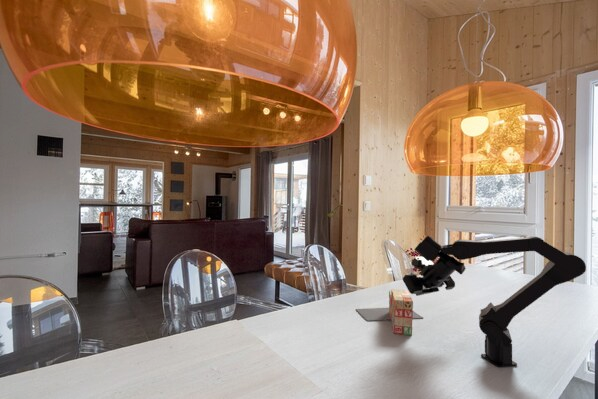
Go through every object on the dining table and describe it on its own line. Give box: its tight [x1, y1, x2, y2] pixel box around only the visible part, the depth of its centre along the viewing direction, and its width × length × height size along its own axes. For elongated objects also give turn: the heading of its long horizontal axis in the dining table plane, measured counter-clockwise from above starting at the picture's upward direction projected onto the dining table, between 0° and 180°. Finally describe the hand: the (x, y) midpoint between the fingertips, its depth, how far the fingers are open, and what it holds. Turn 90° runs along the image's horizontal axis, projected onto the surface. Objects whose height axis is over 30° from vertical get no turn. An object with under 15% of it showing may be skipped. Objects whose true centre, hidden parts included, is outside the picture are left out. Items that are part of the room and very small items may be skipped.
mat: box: [355, 307, 424, 322], centre depth 123 cm, size 13×24×1 cm, turn 99°
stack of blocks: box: [388, 288, 414, 336], centre depth 113 cm, size 21×6×12 cm, turn 168°
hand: (416, 294), depth 105 cm, fingers closed
